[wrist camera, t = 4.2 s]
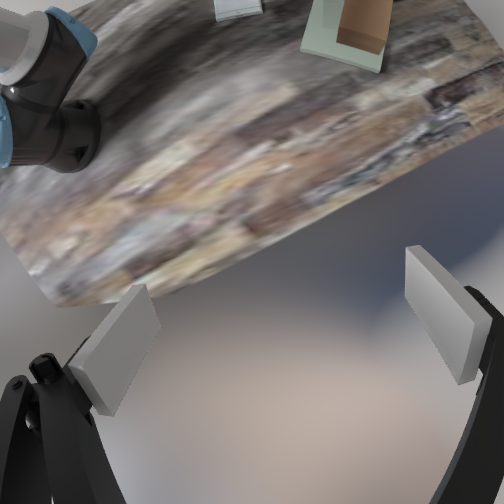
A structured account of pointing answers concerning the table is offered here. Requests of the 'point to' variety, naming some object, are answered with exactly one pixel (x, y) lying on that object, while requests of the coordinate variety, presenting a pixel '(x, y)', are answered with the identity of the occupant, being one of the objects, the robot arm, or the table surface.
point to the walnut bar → (365, 24)
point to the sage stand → (334, 37)
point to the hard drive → (236, 8)
